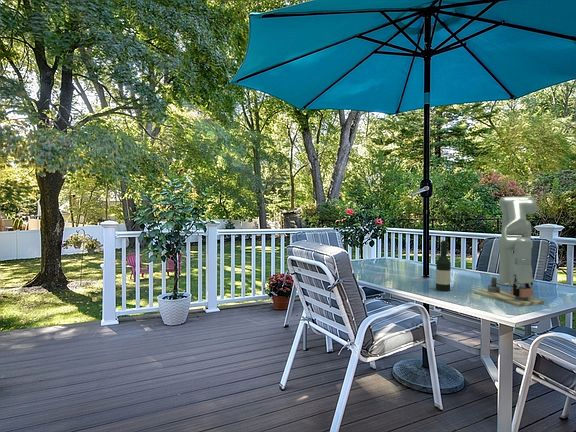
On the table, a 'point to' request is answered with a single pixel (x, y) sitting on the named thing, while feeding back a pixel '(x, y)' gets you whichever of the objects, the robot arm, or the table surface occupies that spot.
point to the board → (506, 295)
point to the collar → (524, 292)
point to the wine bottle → (443, 270)
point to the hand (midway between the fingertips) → (521, 295)
